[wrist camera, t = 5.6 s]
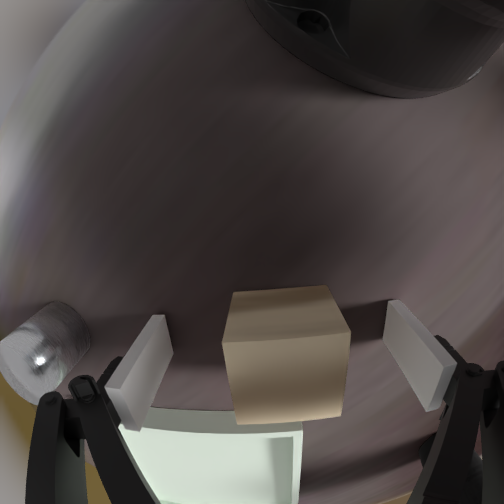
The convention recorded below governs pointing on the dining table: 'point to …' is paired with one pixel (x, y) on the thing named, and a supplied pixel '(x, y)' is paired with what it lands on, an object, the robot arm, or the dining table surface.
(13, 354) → the cylinder
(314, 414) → the beech block
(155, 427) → the tray
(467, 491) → the drinking cup
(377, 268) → the dining table surface
